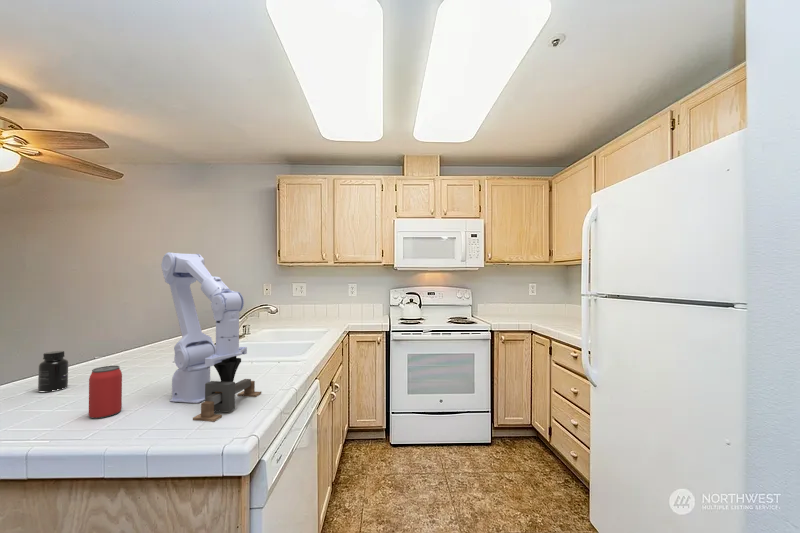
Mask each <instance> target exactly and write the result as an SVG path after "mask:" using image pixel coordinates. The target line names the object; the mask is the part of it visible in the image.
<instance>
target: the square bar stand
mask: <svg viewBox="0 0 800 533" xmlns="http://www.w3.org/2000/svg"><path fill="white" fill-rule="evenodd" d="M255 383H256V382H255V380H252V379H251V378H243V379H242V380H239V381H238V382H235V395H237V397H248V398H256V397H259V396H260V395H262V391H255V390H256V388H255ZM221 401H222V392H215V393H214V394H212V395H210V396H208V397H206V401H205V400H204V401H202V402H200V413H199V414H197V415H195V416H193V417H192V421H199V422H201V421H202V422H216V421H218V420H220V419H221V418H222V417H223V414H217V413H216V414H215V411H214V405H215V404H217V403H219V402H221Z"/></svg>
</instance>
